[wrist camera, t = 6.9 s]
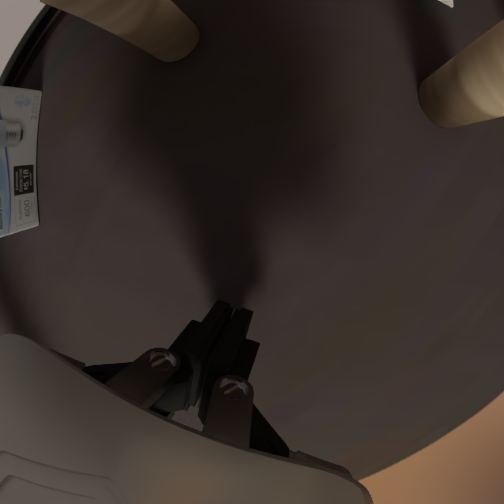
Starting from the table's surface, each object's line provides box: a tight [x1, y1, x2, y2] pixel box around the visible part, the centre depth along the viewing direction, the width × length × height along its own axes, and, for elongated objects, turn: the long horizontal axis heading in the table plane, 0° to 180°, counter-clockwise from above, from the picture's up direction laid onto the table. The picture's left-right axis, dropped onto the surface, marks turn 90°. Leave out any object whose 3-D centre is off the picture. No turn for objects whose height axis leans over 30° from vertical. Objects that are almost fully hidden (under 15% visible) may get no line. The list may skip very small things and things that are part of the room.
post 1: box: [40, 0, 200, 62], centre depth 6 cm, size 3×3×8 cm
